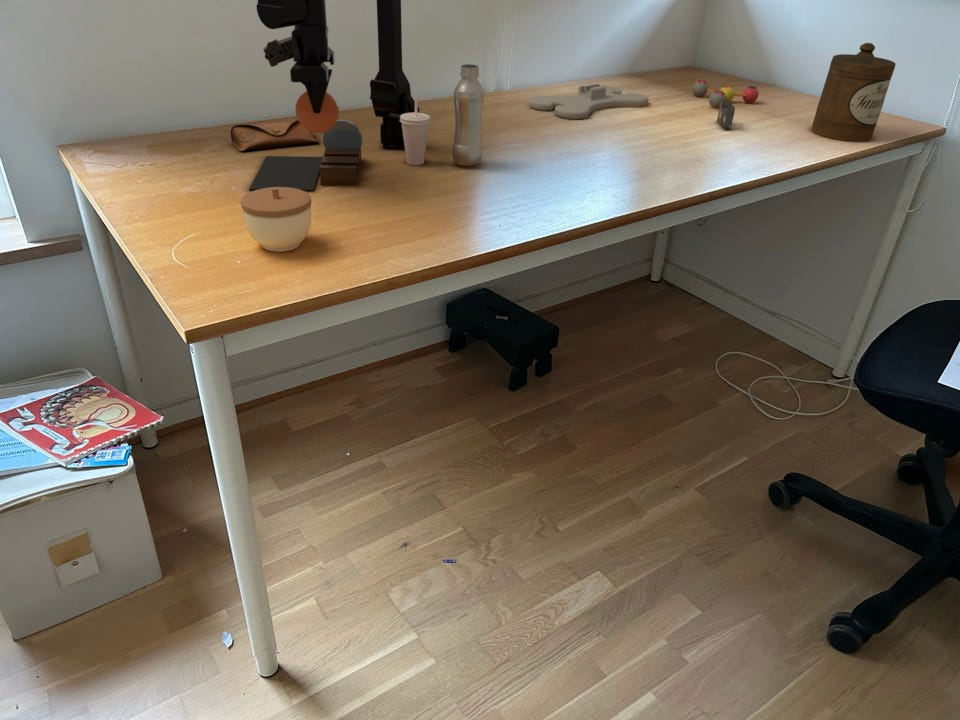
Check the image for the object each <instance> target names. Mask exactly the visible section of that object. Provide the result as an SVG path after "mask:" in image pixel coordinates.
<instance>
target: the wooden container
mask: <svg viewBox="0 0 960 720" xmlns="http://www.w3.org/2000/svg"><path fill="white" fill-rule="evenodd" d="M859 50H860V51H859V52H858V53H856V54H852V53H851V54H850V53H849V54H848V53H847V54H846V53H844V54H843V53H841V54H836V55H832V58H831V60H830V65H829V69H828V72H827V74H826V78H825V82H824V85H823V89H822V91H821V94H820V97H819V100H818V103H817V107H816V110H815V113H814V114H815V115H814V117H813V121H812V125H811V131H812V132H813V133H815V134H817V135H818V136H822V137H824V138H828V139H831V140H838V141H844V142H866V141H869V140H871V139H872V138H873V135H874V132H875V130H876V127H877V123H878V121H879V118H880V116H881V112H882V109H883V106H884V103H885V99H886V96H887V93H888V90H889V86H890V83H891V80H892V77H893V74H894V71H895V68H896V65H897V63H896V62H895V61H893V60H890V59H887V58H882V57H879V56H878V57H877V56H875V55H874V53H873V52H874V51H875V50H876V46H875V45H874V44H873V43H871V42H864V43H862V44H861V45H860V46H859Z"/></svg>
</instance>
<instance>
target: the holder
mask: <svg viewBox="0 0 960 720" xmlns="http://www.w3.org/2000/svg"><path fill="white" fill-rule="evenodd" d="M648 104H649V96H647V95H645V94H642V93H637V92H625V93H624V94H623V93H622V89H621V88H618V87H615V86H610V85H600V84H599V83H591V84H586V85H581V86H578V91H577V94H572V95H557V96H555V95H554V96H553V95H550V96H549V95H538V96H533V97H530V99H529V100H528V106H529V107H530V108H531V109H534V110H538V111H545V112H546V111H547V112H550V111H552V110H554V114H555V115H556V116H557V117H559V118H562V119H566V120H567V119H568V120H581V119H585V118H588V117H589V114H590V113H591V112H594V111H596V110H602V109H606V108H616V107H619V108H620V107H634V108H635V107H636V108H637V107H638V108H639V107H644V106H647V105H648Z"/></svg>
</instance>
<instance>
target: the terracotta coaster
mask: <svg viewBox="0 0 960 720" xmlns="http://www.w3.org/2000/svg"><path fill="white" fill-rule="evenodd" d="M294 109H295V116H296V120H298V121H299V122H300V124H301V125H302V126H303V127H304V128H305V129H307V130H309V131H311V132H312V133H313V134H324V132H327V131H329V130H331V129H332V128H333V127H334V126H335V124H336V122H337V120H339V115H340V109H339V105H338V102H337V100H336V98H335V97H334V96H333V95H332V93H329V92H328V91H326V93H325V96H324V100H323V103H322V107H321V110H320V113H314V112H313V109H312V105H311V102H310V99H309V96H308V93H307V90H305V91H303V92H302V93H301V94H300V95H299V97H298V98H297V100H296V103H295V108H294Z"/></svg>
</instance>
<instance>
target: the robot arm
mask: <svg viewBox="0 0 960 720" xmlns="http://www.w3.org/2000/svg"><path fill="white" fill-rule="evenodd" d="M256 13H257V16H258V18H259V20H260V22H261V24H263V25H264V26H265V28H268V29H271V30H277V29H283V28H289V27H294V28H293V30H292V31H291V36H289V37H288V36H287V37H285V38H283V39H280V40H278V39H276V38H275V39H274V40H272V41H268V42H267V43H266V45H265V47H264V48H263V49H262V50H263V53H264V58H265V60H267V61H268V64H269V66H270V67H271V68H272V67H276V66H278V65H279V64H281V63H284V62H286V61H290V60H293V62H295V63H294V64H293V65H292V66H291V68H290V70H289V74H290V75H289V76H290V82H291V83H301V84H302V85H303V86H304V87H305V91H307V93H308V96H309V99H310V102H311V105H312V109H313V112H314V113H320V110H321V107H322V103H323V100H324V96H325V93H326V92H328V87H329V83H330V81H331V78H332V73H333V69H332V68H329V67H328V66H327V65H326V64H325V63H329V64H330V66H331V65H332V66H334V65H335V63H336V61H335V51H334V50H333V49H332V48H331V47H329V37H328V35H329V26H328V22H327V21H328V20H327V8H326V0H257V4H256ZM376 21H377V22H376V23H377V24H376V26H377V51H378V53H377V55H378V71H377V72H376V75H375V77H374V78H373V79H370V82H369V87H370V88H369V89H370V96H369V100H370V101H371V105H372V108H373V112H374V115H375V117H376V118H382V122H380V125H379V129H380V130H379V131H380V134H379V135H380V144H381V145H382V149H384V150H386V149H387V150H405V145H404V137H403V130H402V123H401V122H400V116H401V115H402V114H405V113H415V98H413V96H412V91H411V90H412V89H411V83H410V82H409V80H408V78H407V76H406V73H404V71H403V35H402V34H403V33H402V29H403V28H402V0H376ZM420 109H421V108H420V107H419V106H418V113H420Z"/></svg>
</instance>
